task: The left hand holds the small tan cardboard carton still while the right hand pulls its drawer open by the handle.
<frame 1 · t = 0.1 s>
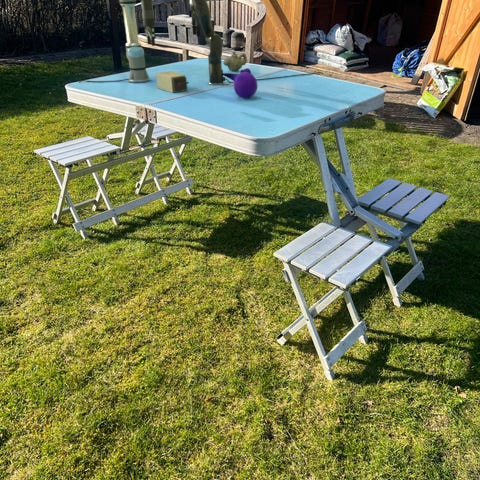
left hand: (196, 35, 349), 28 cm above the table, tool pointing down, fingers open, 13 cm apart
right hand: (151, 45, 294), 29 cm above the table, tool pointing down, fingers open, 8 cm apart
tan cardboard carton: (172, 89, 313), on the table
teapot: (235, 71, 368), on the table
toy: (241, 96, 290), on the table
drawer: (175, 82, 307), point 5 cm above the table, slide at 0.9 cm
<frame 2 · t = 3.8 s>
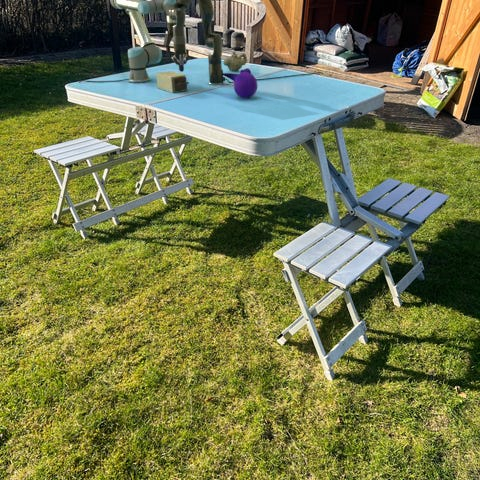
left hand: (175, 55, 321), 19 cm above the table, tool pointing down, fingers open, 13 cm apart
right hand: (181, 71, 296), 14 cm above the table, tool pointing down, fingers closed
nothing on the table moved.
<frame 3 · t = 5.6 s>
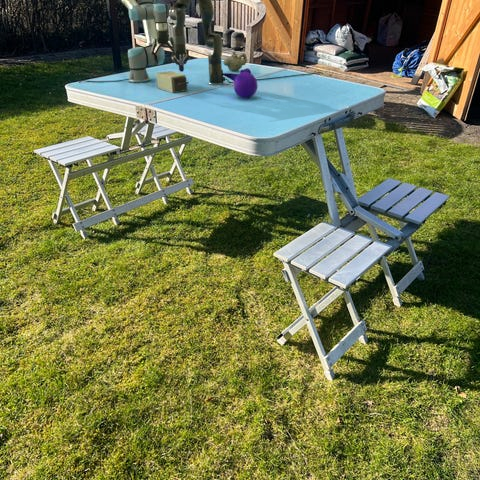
left hand: (165, 63, 310), 16 cm above the table, tool pointing down, fingers open, 13 cm apart
right hand: (181, 71, 296), 14 cm above the table, tool pointing down, fingers closed
nothing on the table moved.
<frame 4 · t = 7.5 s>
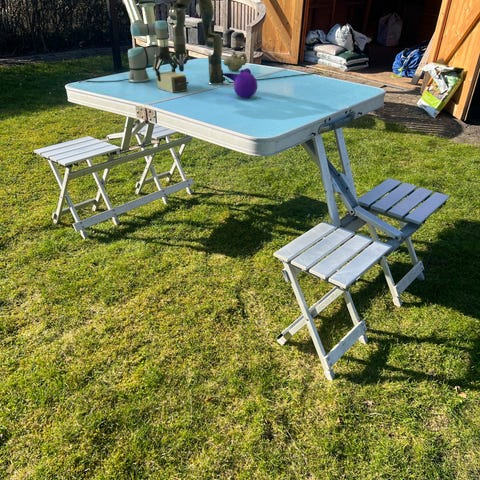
left hand: (166, 79, 315), 5 cm above the table, tool pointing down, fingers closed on tan cardboard carton, 11 cm apart
right hand: (181, 71, 296), 14 cm above the table, tool pointing down, fingers closed
tan cardboard carton: (172, 89, 313), on the table, touching left hand
everything else where it was.
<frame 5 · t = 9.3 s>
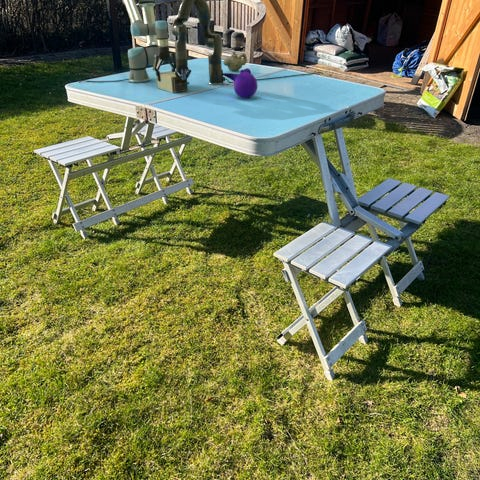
left hand: (166, 79, 315), 5 cm above the table, tool pointing down, fingers closed on tan cardboard carton, 11 cm apart
right hand: (183, 85, 299), 5 cm above the table, tool pointing down, fingers closed
tan cardboard carton: (172, 89, 313), on the table, touching left hand
drawer: (176, 83, 306), point 5 cm above the table, slide at 1.8 cm, touching right hand
everything else where it was.
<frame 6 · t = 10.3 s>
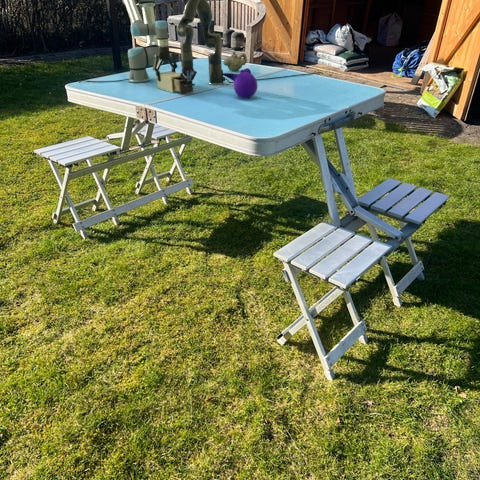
left hand: (166, 79, 315), 5 cm above the table, tool pointing down, fingers closed on tan cardboard carton, 11 cm apart
right hand: (188, 87, 295), 5 cm above the table, tool pointing down, fingers closed
tan cardboard carton: (172, 89, 313), on the table, touching left hand
drawer: (181, 84, 301), point 5 cm above the table, slide at 8.4 cm, touching right hand
everything else where it was.
when the left hand's fingers open (5 cm above the table, at t = 12.2 s): tan cardboard carton stays where it is, on the table.
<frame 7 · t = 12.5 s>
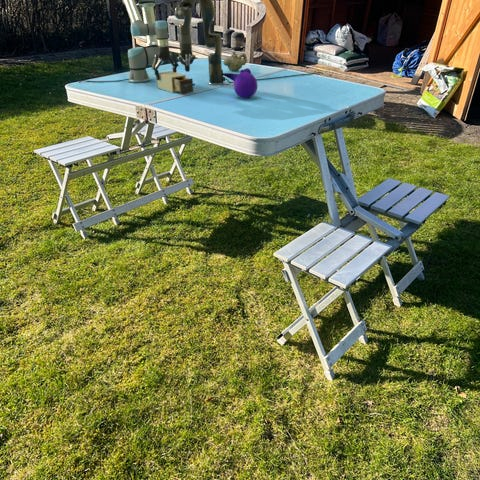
left hand: (166, 78, 314), 6 cm above the table, tool pointing down, fingers open, 13 cm apart
right hand: (187, 71, 290), 15 cm above the table, tool pointing down, fingers closed
tan cardboard carton: (172, 89, 313), on the table
drawer: (181, 84, 301), point 5 cm above the table, slide at 8.4 cm
everything else where it was.
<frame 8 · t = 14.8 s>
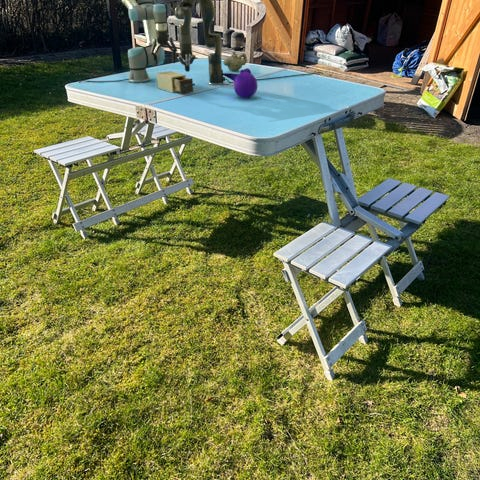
left hand: (165, 64, 309), 16 cm above the table, tool pointing down, fingers open, 13 cm apart
right hand: (187, 71, 290), 15 cm above the table, tool pointing down, fingers closed
nothing on the table moved.
at the end: drawer slide at 8.4 cm; tan cardboard carton tilted 0°; tan cardboard carton never tilted more than 1° during the clip; tan cardboard carton moved 0.1 cm from its start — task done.
